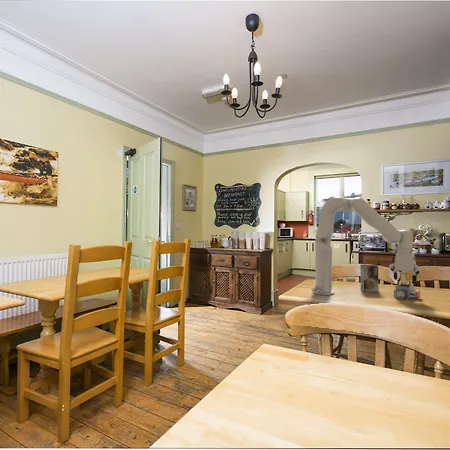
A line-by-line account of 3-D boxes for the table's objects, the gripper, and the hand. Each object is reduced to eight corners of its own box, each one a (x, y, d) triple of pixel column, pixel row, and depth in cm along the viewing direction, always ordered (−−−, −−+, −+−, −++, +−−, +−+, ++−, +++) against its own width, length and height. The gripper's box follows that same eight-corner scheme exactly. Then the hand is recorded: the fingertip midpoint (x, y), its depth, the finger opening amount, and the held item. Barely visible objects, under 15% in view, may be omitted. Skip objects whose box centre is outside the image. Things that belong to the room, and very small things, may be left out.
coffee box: (374, 289, 196) (374, 264, 196) (378, 291, 189) (378, 265, 189) (360, 289, 197) (360, 264, 197) (363, 291, 190) (363, 265, 190)
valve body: (413, 302, 166) (413, 289, 166) (391, 298, 174) (391, 286, 174) (423, 297, 176) (423, 285, 176) (402, 294, 184) (402, 282, 184)
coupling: (407, 290, 173) (406, 273, 174) (399, 289, 177) (398, 272, 177) (409, 289, 176) (408, 272, 176) (402, 288, 179) (401, 271, 179)
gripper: (424, 252, 172) (424, 282, 172) (391, 249, 185) (391, 277, 185) (419, 253, 167) (419, 284, 167) (386, 250, 180) (386, 279, 180)
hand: (404, 280), depth 176 cm, fingers open, 9 cm apart
